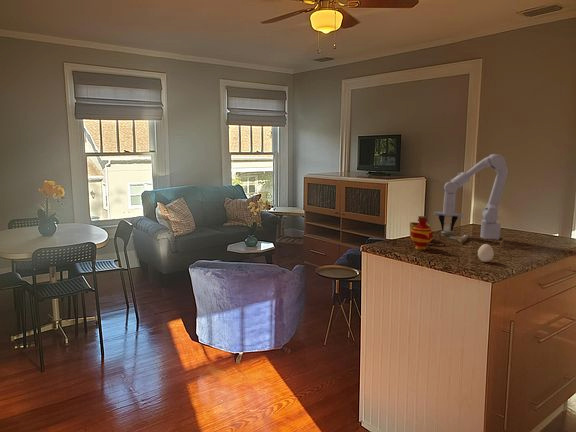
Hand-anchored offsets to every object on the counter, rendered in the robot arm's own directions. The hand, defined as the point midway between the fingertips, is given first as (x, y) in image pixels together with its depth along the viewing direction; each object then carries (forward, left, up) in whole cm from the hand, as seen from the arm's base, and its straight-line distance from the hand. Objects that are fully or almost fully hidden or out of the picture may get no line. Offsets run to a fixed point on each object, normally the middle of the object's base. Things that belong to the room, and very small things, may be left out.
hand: (447, 230), depth 238 cm
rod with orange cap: (-9, +12, -1) cm, 16 cm away
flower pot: (+11, +20, -4) cm, 22 cm away
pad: (0, 0, -4) cm, 4 cm away
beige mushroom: (0, 0, -2) cm, 2 cm away
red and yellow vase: (+7, +35, -4) cm, 35 cm away
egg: (-22, +46, -4) cm, 51 cm away
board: (-4, +7, -4) cm, 9 cm away
